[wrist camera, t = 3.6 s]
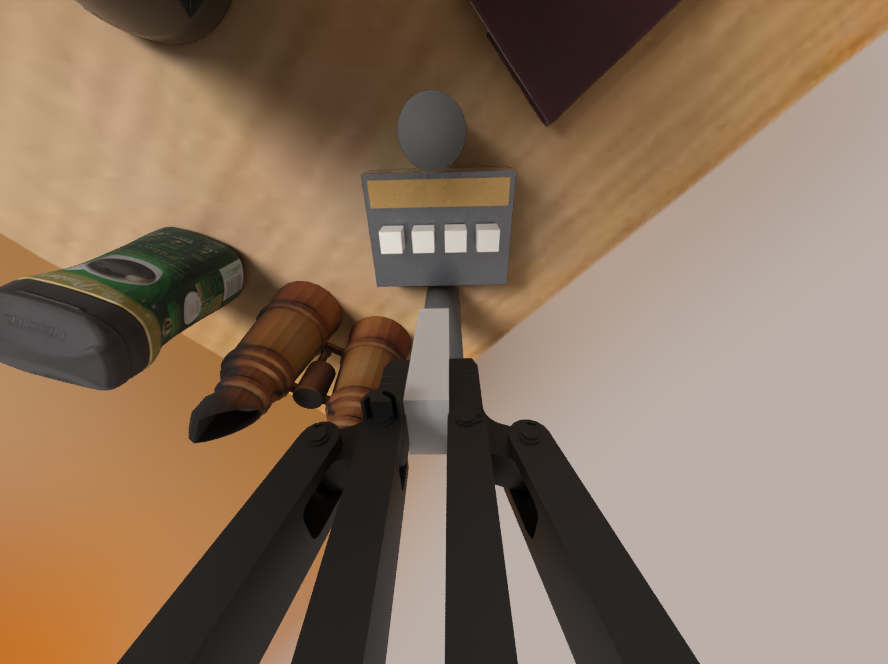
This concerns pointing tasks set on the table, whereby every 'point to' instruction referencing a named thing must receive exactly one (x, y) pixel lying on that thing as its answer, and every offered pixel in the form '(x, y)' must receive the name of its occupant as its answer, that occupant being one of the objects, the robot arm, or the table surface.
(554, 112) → the book
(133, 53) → the table surface
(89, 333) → the coffee jar
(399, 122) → the post
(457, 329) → the post
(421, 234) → the row of white cubes
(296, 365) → the binoculars
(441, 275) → the breaker box
